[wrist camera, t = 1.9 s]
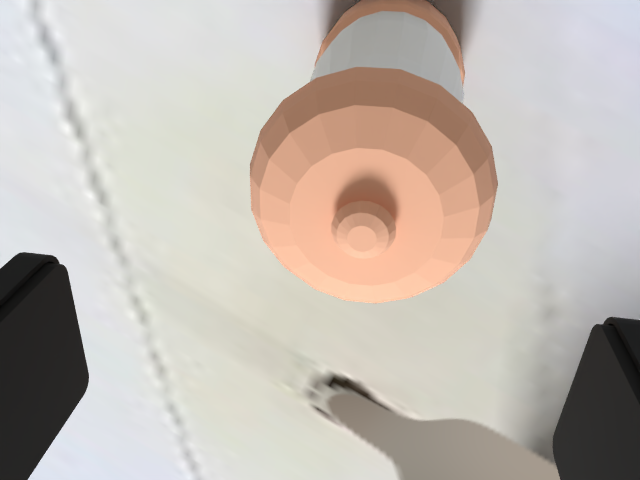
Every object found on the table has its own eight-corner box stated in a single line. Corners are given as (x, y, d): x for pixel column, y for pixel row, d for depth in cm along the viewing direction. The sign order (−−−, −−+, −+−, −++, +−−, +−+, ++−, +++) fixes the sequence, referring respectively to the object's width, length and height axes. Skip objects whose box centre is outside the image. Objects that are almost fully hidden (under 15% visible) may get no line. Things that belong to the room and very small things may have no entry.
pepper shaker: (437, 143, 32) (462, 381, 16) (312, 115, 32) (206, 320, 16) (478, 8, 29) (568, 131, 12) (337, -22, 29) (232, 57, 12)
